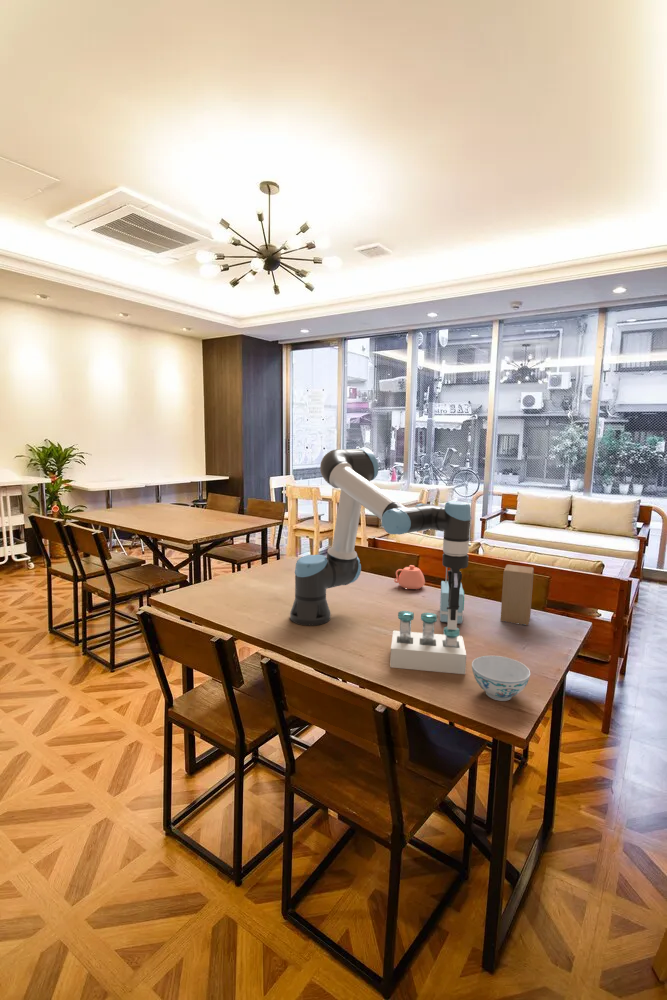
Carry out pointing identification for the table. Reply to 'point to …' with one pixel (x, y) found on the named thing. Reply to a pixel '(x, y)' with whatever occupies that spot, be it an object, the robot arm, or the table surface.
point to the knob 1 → (405, 626)
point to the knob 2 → (451, 637)
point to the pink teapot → (410, 578)
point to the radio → (445, 603)
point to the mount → (428, 654)
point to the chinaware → (500, 676)
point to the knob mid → (428, 628)
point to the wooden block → (517, 594)
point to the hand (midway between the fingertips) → (452, 628)
